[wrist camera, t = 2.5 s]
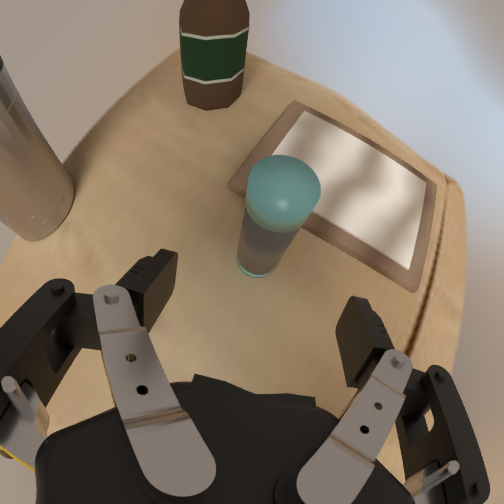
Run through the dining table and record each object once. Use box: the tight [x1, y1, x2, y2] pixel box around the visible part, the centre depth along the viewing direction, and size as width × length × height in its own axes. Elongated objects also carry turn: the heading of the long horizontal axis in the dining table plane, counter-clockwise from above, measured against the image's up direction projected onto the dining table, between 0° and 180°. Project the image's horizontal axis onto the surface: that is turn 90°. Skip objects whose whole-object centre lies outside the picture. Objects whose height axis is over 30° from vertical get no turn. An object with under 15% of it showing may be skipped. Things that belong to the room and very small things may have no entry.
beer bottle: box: [179, 0, 249, 111], centre depth 21 cm, size 8×8×24 cm
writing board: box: [228, 101, 437, 293], centre depth 29 cm, size 22×16×1 cm
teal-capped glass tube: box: [237, 155, 321, 278], centre depth 20 cm, size 4×4×12 cm
